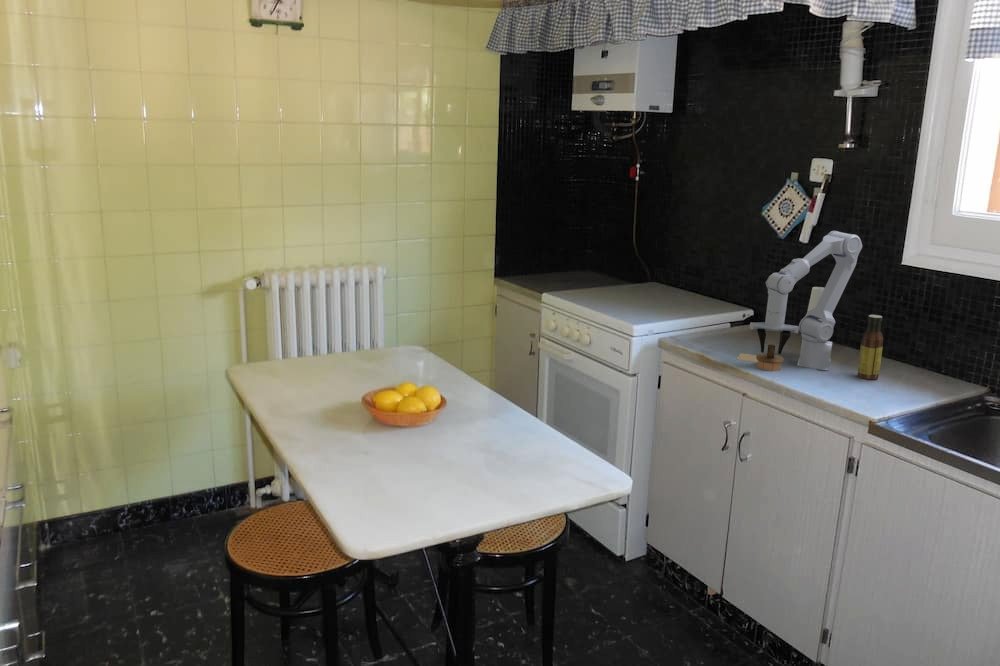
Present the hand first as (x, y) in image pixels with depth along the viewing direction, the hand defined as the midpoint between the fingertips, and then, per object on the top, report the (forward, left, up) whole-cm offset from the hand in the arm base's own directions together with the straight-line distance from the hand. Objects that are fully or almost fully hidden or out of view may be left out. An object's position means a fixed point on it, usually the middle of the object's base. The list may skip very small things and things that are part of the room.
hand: (770, 352), depth 254 cm
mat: (+6, -8, -5) cm, 11 cm away
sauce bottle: (-29, -7, -6) cm, 30 cm away
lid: (0, 0, -2) cm, 2 cm away
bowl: (0, 0, -5) cm, 5 cm away
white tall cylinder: (-12, -19, -5) cm, 23 cm away
